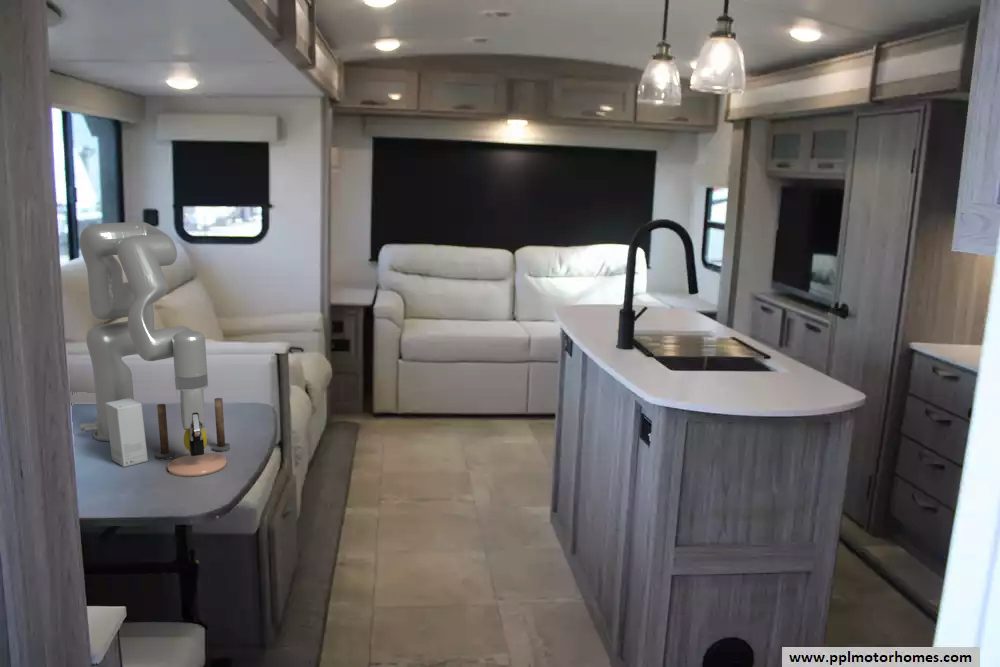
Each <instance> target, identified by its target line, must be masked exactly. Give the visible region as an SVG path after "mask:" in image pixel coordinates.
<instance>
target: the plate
mask: <svg viewBox="0 0 1000 667" xmlns="http://www.w3.org/2000/svg"><path fill="white" fill-rule="evenodd" d="M227 464H228V463H227V458H226V457H225V456H224V455H222V454H218V453H210V452H209V453H207V452H206V453H205V452H204V454H203V455H197V456H191V455H190V454H187V455H183V456H180V457H177V458H175V459H173V460H171V461H170V462H169V463H168V464H167V472H168V471H169V472H168V473H169V474H170V473H171V474H170V475H172V474H173V476H175V475H176V476H175V477H180V476H184V477H183V478H192V477H191V476H197V477H202V475H204V476H207V475H206V474H209V475H211V473H212V474H215V473H218V472H220V471H222V470H224V469H225V468H226V467H227ZM224 467H225V468H224ZM187 476H188V477H187Z"/></svg>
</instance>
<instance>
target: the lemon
mask: <svg viewBox="0 0 1000 667" xmlns="http://www.w3.org/2000/svg"><path fill="white" fill-rule="evenodd" d="M199 427H200V425H199ZM191 428H194V426H191ZM184 431H185V432H184V436H183V444H184V447H185V448H186V450H187V451H188V452H190V441H189V440H191V438H190V428H189V429H187V430H184ZM193 432H194V430H193V431H192V433H193ZM202 438H203V441H204V449H205V448H206V447H207V445H208V444H207V443H208V435H207V432H206V429H205V427H203V428H202Z"/></svg>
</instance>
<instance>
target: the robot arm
mask: <svg viewBox="0 0 1000 667" xmlns="http://www.w3.org/2000/svg"><path fill="white" fill-rule="evenodd" d="M79 248H80V253H81V257H82V258H83V261H84V263H85V264H84V265H85V267H86V271H87V282H88V284H87V285H88V296H89V306H90V311H91V314H92V315H93V317H95V319H98V320H104V321H105V320H115V319H123V318H127V320H126V321H125V320H124V321H117V322H110V323H105V324H103V323H102V324H99V325H97V326H95V327H93V328H90V330H89V331H88V333H87V335H86V337H85V338H86V346H87V349H88V354H89V356H90V357H89V358H90V361H91V365H92V371H93V380H94V381H93V382H94V392H95V393H94V394H95V402H96V413H97V418H96V421H92V422H91V423H80V424H79V425H80V431H85V432H87V433H88V432H89V433H90V432H93V433H92V435H93V437H92V438H94V439H95V440H96V439H97V441H102V442H110V438H109V430H108V422H107V414H106V406H105V403H107V402H112V401H117V400H122V399H126V398H131V399H133V400H135V397H134V396H135V394H134V385H133V384H134V383H133V376H132V375H133V374H132V371H131V369H130V368H131V367H130V366H128V365H127V363H125V361H124V360H123V359H122V358H124V357H127V356H131V355H138V356H139V357H141V359H143V360H144V361H146V362H156V361H161V360H166V359H171V358H173V366H174V369H173V370H174V381H175V382H174V384H175V390H177V391H179V395H180V396H179V397H180V398H179V399H180V400H179V401H180V402H179V403H180V415H181V416H180V418H181V424H182V428H183V429H184V431H186V430H187V429H189V428H190V438H191V440H189V441H190V451H189V452H190V453H189V455H191V456H197V455H203V454H204V453H205V448H204V441H203V438H202V428H205V424H206V423H205V397H204V396H205V395H204V390H205V389H207V388H208V387H209V381H208V380H209V378H208V367H207V349H206V336H205V335H204V334H203V332H201V331H197V330H196V331H195V330H192V329H191V327H188V326H186V325H185V326H184V325H180V326H179V325H178V326H171V327H163V328H159V329H155V316H154V303H155V302H156V301H159V300H160V299H162V298H163V297H164V296H165V295H166V294H167V293H168V291H169V284H168V282H167V279H166V277H165V274H164V272H163V270H162V267H166V266H172V265H174V263H175V262H176V261H177V257H178V256H177V255H178V251H177V246H176V244H175V242H174V240H173V239H172V238H171V237H170V236H169V235H168V234H167V233H166V232H164V231H162V230H160V229H159V228H157V227H156V226H153V225H152V224H149V223H148V222H144V221H128V222H127V221H125V222H105V223H103V222H102V223H96V224H91V225H88V226H86V227H85V228H83V230H82V232H81V233H80V236H79ZM115 256H117V257H118V260H117V259H116V257H115ZM119 261H120V262H119ZM123 273H124V274H123ZM124 275H125V278H126V279H127V281H126V282H124V279H123V278H124V277H123V276H124ZM191 426H194V428H191ZM199 426H200V427H199ZM193 430H194V432H193V433H192V431H193Z"/></svg>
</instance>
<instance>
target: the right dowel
mask: <svg viewBox="0 0 1000 667" xmlns="http://www.w3.org/2000/svg"><path fill="white" fill-rule="evenodd" d="M213 401H214V413H215V414H214V417H215V430H216V443H215V444H213V445H212V451H213V452H214V451H215V452H214V453H224V452H223V451H225V452H228V451H230V450H231V444H230V443H227V442H226V435H225V422H224V405H223V404H224V403H223V401H224V400H223V397H216V398H214V400H213ZM229 449H230V450H229ZM227 450H228V451H227Z"/></svg>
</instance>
